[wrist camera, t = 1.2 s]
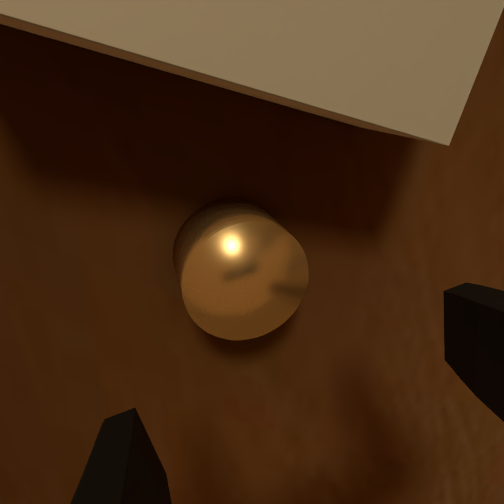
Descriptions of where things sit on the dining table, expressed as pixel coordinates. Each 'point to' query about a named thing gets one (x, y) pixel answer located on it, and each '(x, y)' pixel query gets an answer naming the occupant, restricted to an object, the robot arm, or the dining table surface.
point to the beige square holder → (296, 51)
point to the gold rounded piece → (238, 270)
